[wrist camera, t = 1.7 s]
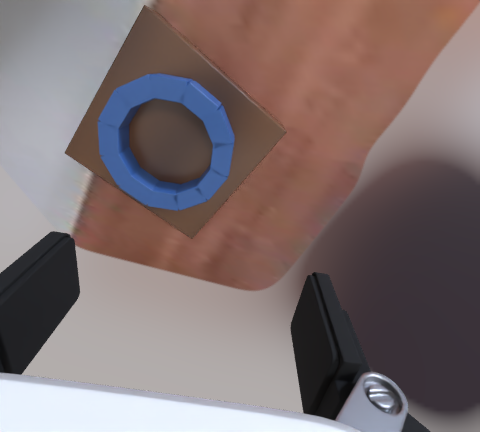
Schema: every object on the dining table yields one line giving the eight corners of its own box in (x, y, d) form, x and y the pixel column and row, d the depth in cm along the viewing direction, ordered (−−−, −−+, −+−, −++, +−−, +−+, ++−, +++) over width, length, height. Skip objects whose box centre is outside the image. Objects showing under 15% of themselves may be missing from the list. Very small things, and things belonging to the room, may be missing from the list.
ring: (89, 150, 26) (75, 158, 24) (152, 43, 22) (141, 40, 20) (187, 218, 29) (182, 230, 27) (258, 134, 25) (259, 141, 23)
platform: (81, 144, 29) (64, 152, 26) (156, 11, 23) (144, 4, 21) (196, 225, 32) (192, 239, 30) (283, 125, 27) (286, 132, 25)
